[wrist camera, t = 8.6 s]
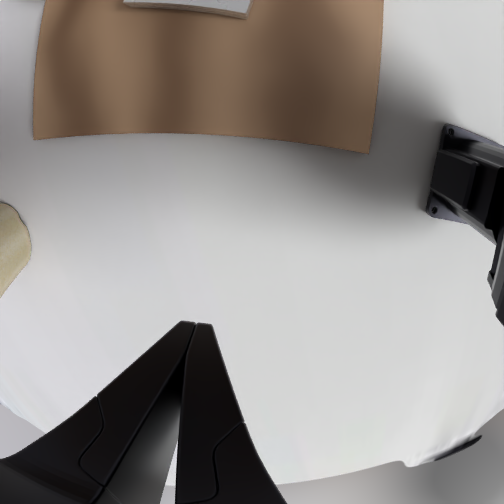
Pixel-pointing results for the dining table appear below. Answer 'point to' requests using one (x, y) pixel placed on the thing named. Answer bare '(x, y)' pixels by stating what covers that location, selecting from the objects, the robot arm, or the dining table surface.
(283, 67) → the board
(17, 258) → the flower pot
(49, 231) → the dining table surface
